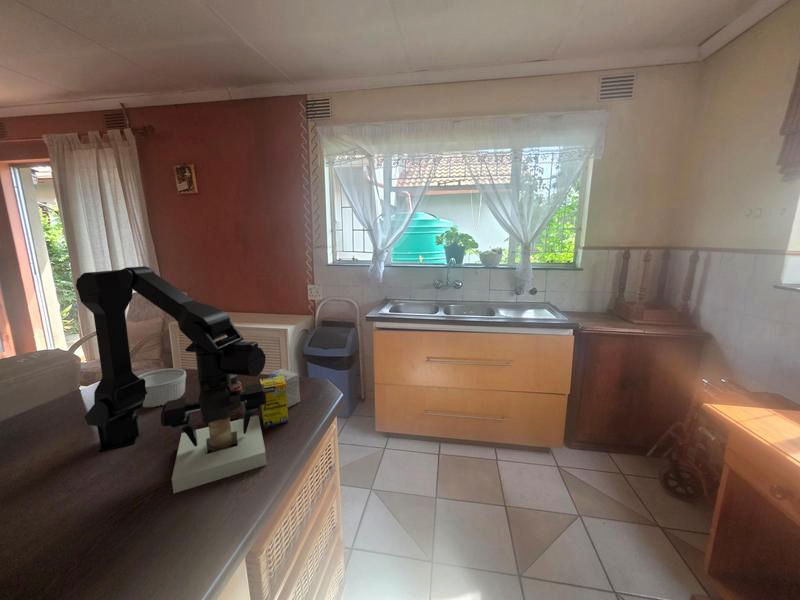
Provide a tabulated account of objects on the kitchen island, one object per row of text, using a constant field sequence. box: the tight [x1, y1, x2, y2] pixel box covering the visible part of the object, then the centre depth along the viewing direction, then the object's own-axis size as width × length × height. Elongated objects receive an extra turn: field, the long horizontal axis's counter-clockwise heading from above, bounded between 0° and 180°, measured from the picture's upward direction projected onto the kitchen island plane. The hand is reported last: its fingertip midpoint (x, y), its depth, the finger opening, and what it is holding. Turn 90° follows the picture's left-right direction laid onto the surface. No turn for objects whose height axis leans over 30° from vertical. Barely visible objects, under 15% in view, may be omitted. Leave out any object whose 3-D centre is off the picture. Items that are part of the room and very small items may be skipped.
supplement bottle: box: [230, 374, 244, 421], centre depth 83 cm, size 6×6×11 cm
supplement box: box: [259, 375, 289, 429], centre depth 81 cm, size 6×6×11 cm
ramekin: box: [136, 368, 187, 408], centre depth 92 cm, size 13×13×7 cm
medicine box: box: [268, 368, 301, 409], centre depth 91 cm, size 8×4×9 cm, turn 58°
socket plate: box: [171, 414, 267, 494], centre depth 68 cm, size 16×16×3 cm
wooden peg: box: [207, 417, 233, 453], centre depth 68 cm, size 4×4×10 cm
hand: (221, 438), depth 68 cm, fingers open, 9 cm apart
